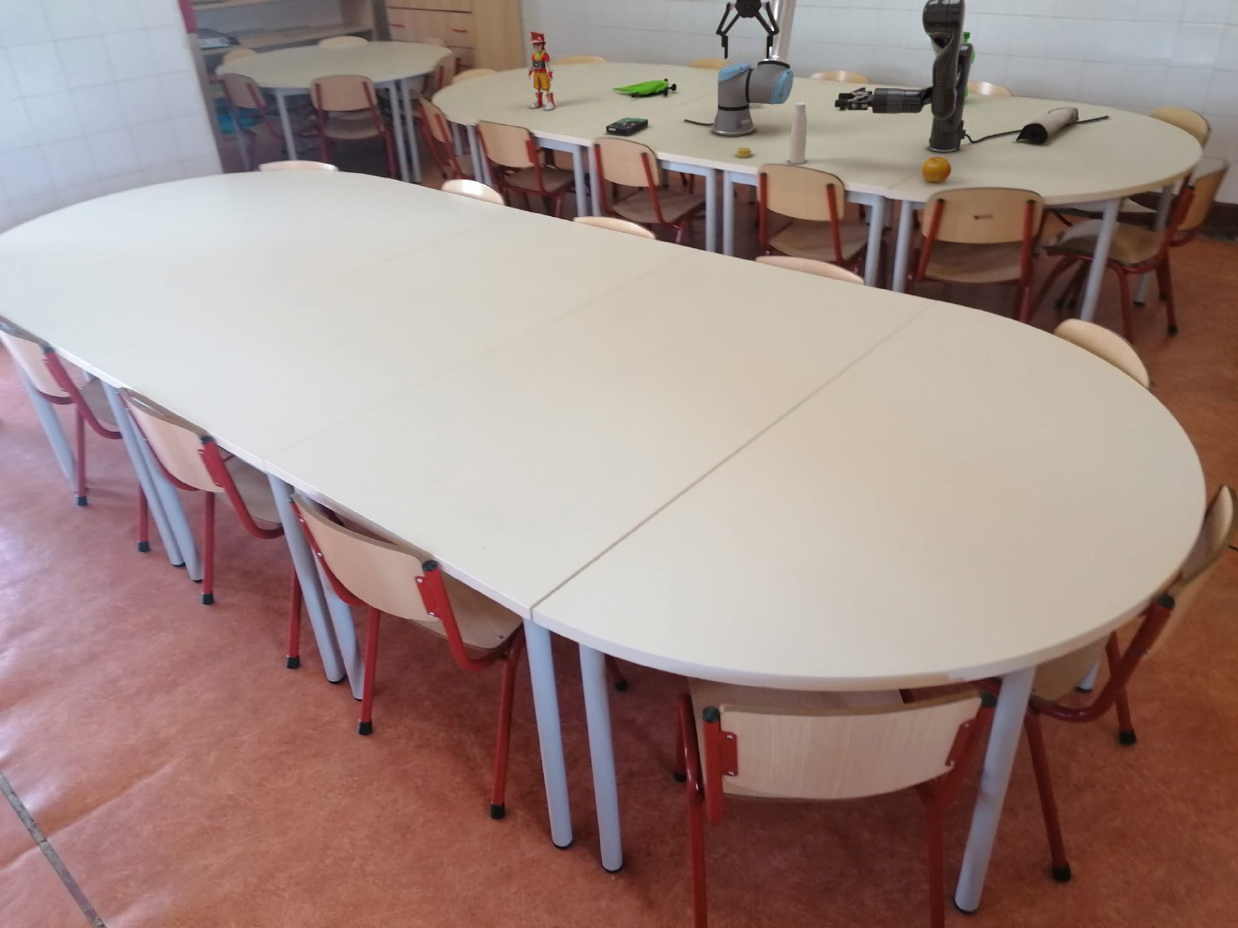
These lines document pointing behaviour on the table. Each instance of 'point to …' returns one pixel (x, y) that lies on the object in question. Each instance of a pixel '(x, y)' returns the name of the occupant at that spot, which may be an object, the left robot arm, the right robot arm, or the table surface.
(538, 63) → the toy
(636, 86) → the toy
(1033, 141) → the rolled mat
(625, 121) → the disk drive
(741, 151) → the cap
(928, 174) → the fruit
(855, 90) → the midi keyboard
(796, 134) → the bottle
